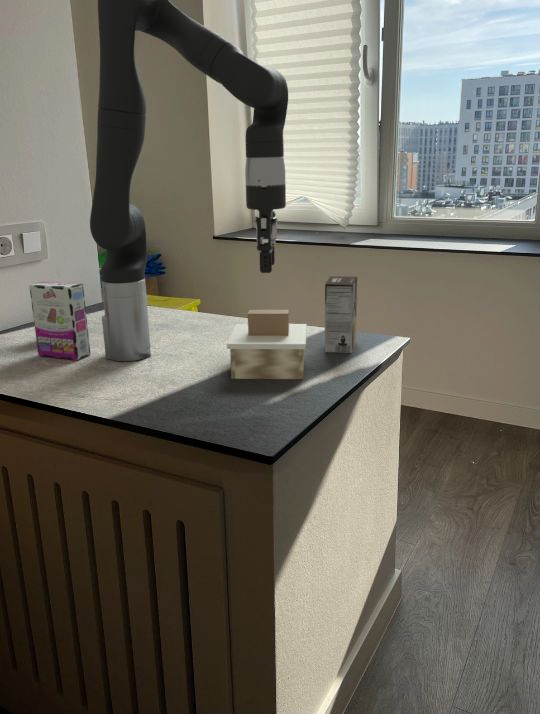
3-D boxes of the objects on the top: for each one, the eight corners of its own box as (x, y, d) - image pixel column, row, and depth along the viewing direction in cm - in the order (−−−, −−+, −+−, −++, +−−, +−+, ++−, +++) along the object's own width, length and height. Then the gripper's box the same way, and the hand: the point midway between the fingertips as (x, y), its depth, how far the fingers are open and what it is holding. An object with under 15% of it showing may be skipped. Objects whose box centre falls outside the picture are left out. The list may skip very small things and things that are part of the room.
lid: (227, 348, 123) (226, 321, 121) (236, 328, 137) (235, 303, 136) (305, 349, 122) (305, 321, 120) (306, 328, 136) (306, 303, 135)
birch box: (231, 382, 126) (230, 348, 124) (239, 360, 139) (238, 329, 137) (303, 382, 125) (302, 348, 123) (304, 360, 138) (304, 329, 136)
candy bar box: (92, 354, 145) (84, 283, 140) (77, 361, 140) (69, 287, 135) (52, 350, 149) (43, 280, 144) (37, 356, 144) (27, 284, 140)
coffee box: (328, 343, 150) (329, 275, 145) (356, 344, 149) (357, 276, 144) (323, 355, 141) (324, 283, 136) (353, 356, 140) (354, 284, 135)
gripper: (249, 181, 128) (252, 263, 132) (241, 185, 114) (244, 275, 119) (287, 180, 127) (288, 262, 132) (283, 184, 113) (285, 275, 118)
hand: (267, 268), depth 125 cm, fingers open, 8 cm apart
